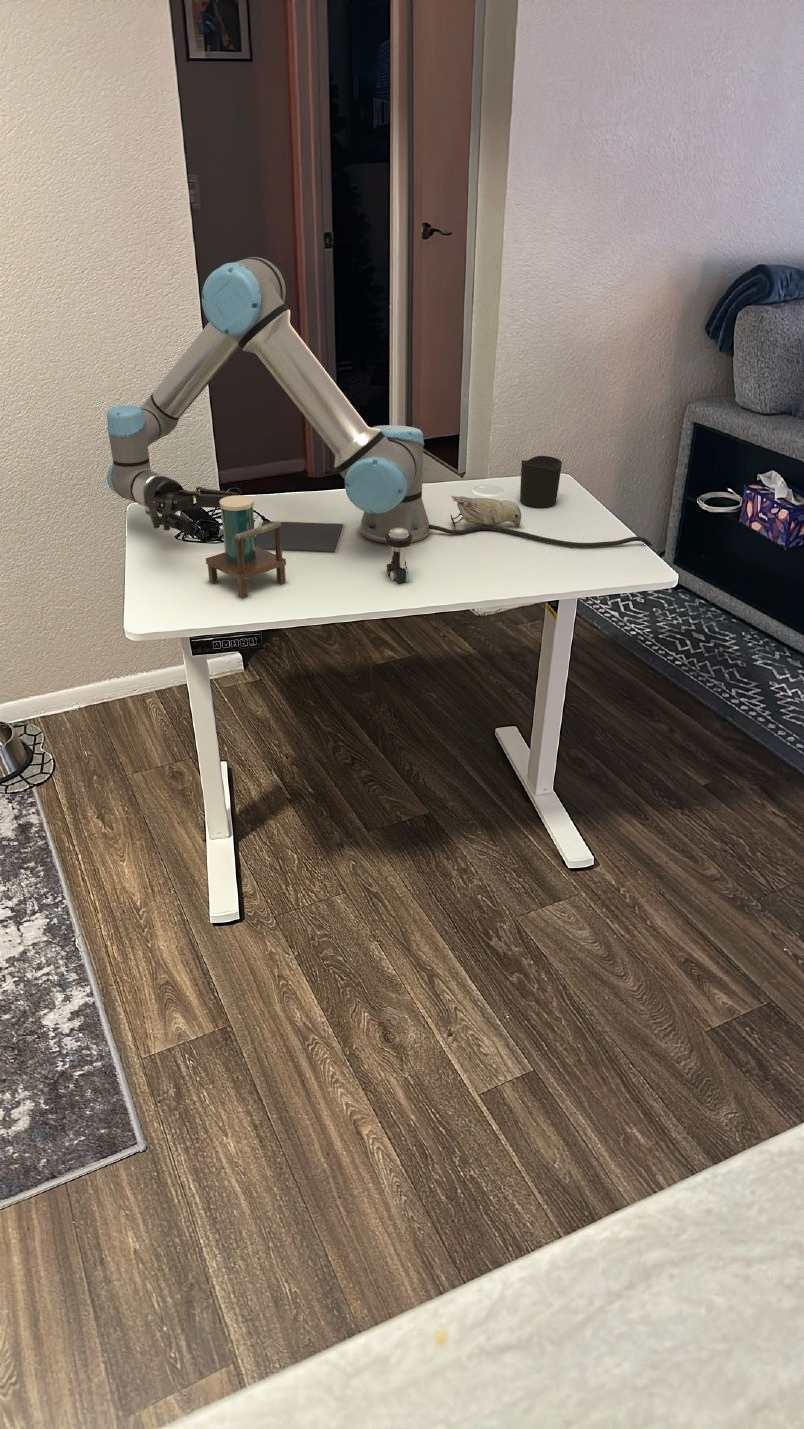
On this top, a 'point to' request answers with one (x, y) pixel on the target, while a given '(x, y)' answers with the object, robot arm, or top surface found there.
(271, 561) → the miniature wooden chair
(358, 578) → the top surface
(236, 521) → the canister
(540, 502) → the pen holder
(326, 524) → the mat
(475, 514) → the decorative bird
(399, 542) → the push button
